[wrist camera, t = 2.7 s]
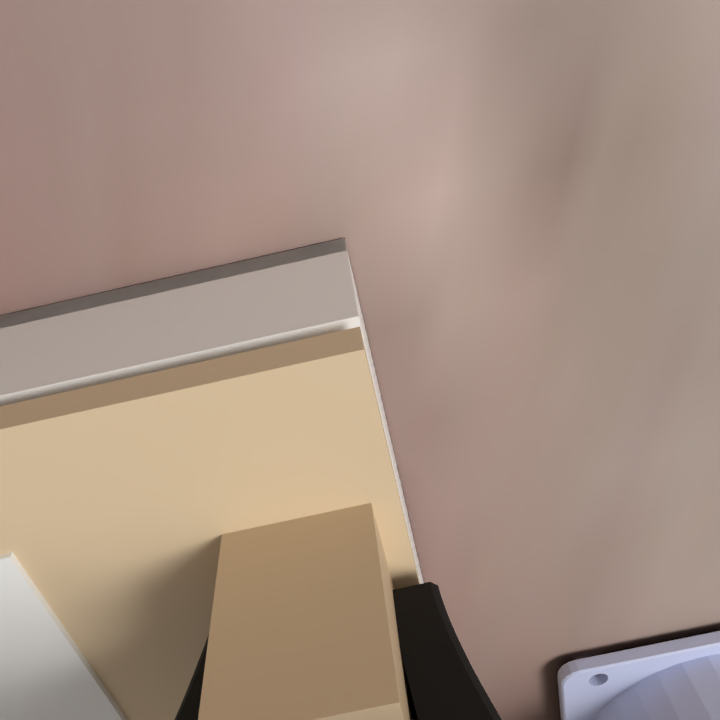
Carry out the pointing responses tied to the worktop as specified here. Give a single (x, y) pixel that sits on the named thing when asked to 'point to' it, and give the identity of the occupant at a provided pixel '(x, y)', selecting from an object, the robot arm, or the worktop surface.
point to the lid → (205, 543)
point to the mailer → (185, 325)
